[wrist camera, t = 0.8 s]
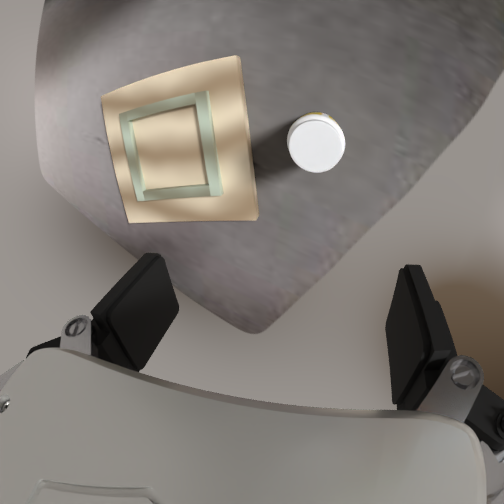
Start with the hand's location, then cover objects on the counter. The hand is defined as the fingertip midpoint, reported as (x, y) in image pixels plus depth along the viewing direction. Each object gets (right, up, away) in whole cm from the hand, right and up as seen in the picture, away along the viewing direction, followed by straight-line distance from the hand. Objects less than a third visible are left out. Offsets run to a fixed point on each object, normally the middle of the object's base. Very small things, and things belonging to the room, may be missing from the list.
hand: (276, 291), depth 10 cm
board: (-10, +14, +19) cm, 26 cm away
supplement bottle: (+6, +13, +15) cm, 21 cm away
